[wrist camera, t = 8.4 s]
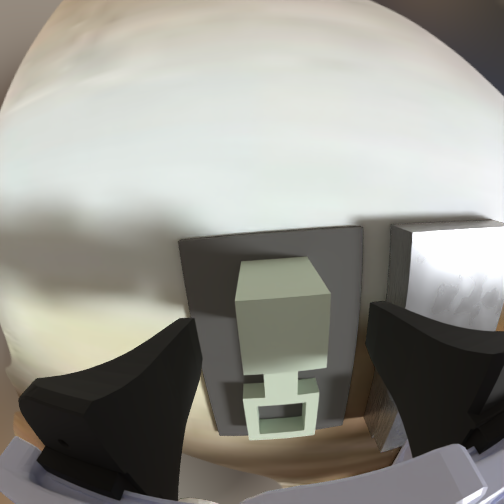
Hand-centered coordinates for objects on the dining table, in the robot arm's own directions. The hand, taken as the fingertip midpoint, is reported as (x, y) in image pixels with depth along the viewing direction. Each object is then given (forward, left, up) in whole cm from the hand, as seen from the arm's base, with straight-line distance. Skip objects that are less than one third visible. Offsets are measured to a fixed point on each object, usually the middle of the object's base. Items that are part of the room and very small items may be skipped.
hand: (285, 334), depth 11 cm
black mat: (-5, 0, -5) cm, 7 cm away
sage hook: (-5, 0, -5) cm, 7 cm away
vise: (-5, -12, -5) cm, 14 cm away
